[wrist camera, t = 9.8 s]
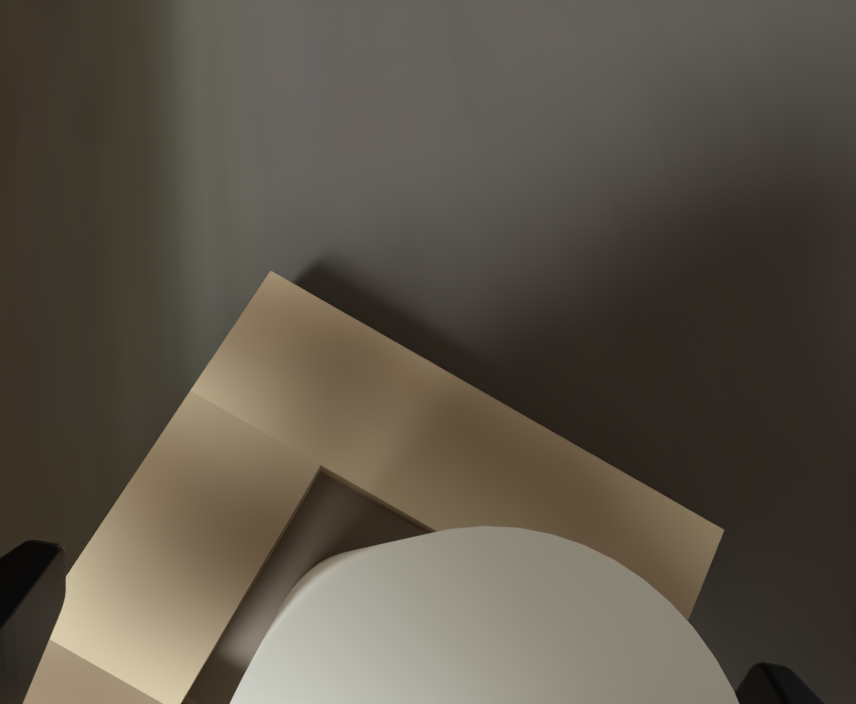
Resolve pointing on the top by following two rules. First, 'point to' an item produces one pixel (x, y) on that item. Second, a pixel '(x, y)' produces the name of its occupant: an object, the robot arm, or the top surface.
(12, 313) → the top surface
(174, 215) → the top surface
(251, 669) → the peg
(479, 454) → the socket block
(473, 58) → the top surface
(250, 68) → the top surface
